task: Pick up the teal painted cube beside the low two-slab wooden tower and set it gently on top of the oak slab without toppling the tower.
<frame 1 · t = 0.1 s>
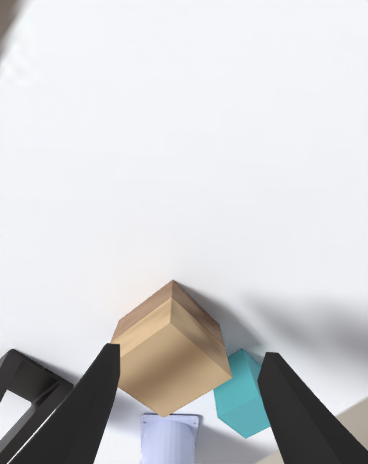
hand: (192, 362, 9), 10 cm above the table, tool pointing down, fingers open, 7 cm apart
tower base: (169, 320, 21), on the table, touching tower top
phone stand: (31, 377, 24), on the table
teal cube: (237, 368, 24), on the table
tower top: (168, 344, 19), point 3 cm above the table, touching tower base
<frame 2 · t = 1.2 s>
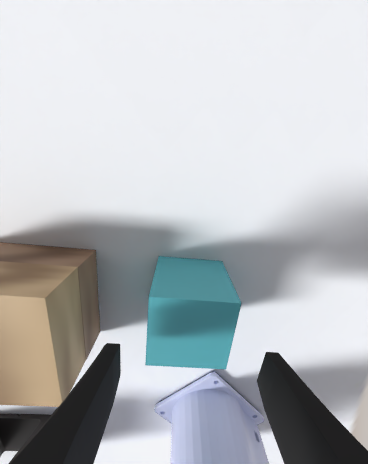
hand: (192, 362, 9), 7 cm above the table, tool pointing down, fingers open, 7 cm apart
tower base: (51, 288, 16), on the table
phone stand: (26, 428, 21), on the table
teal cube: (187, 285, 16), on the table
tower top: (22, 314, 13), point 3 cm above the table
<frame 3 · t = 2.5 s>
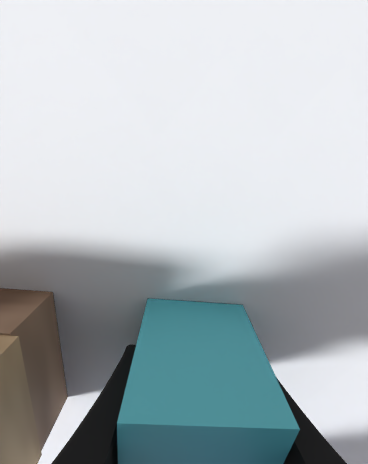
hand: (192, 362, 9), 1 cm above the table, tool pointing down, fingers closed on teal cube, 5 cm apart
teal cube: (190, 338, 11), on the table, touching gripper
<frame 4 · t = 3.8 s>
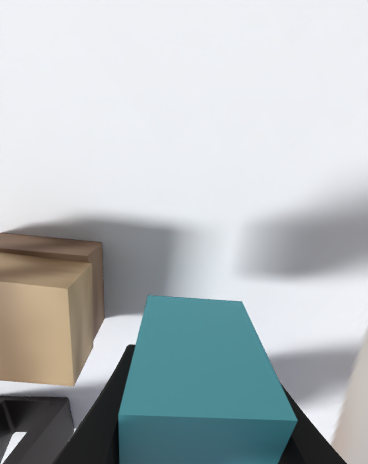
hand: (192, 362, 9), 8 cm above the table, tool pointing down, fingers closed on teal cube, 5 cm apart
tower base: (60, 276, 17), on the table, touching tower top
phone stand: (35, 410, 23), on the table
teal cube: (190, 334, 11), point 6 cm above the table, touching gripper
tower top: (39, 303, 14), point 3 cm above the table, touching tower base
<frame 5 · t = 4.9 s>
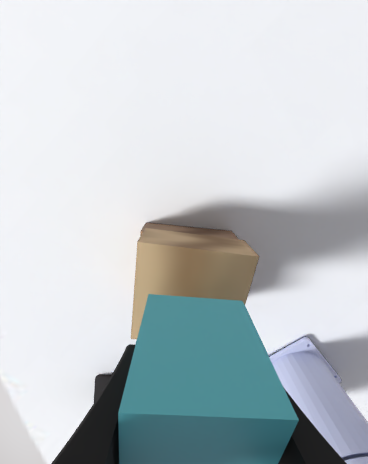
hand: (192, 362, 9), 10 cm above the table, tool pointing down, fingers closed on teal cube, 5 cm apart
tower base: (184, 262, 19), on the table, touching tower top
teal cube: (190, 333, 11), point 8 cm above the table, touching gripper
tower top: (188, 277, 16), point 3 cm above the table, touching tower base
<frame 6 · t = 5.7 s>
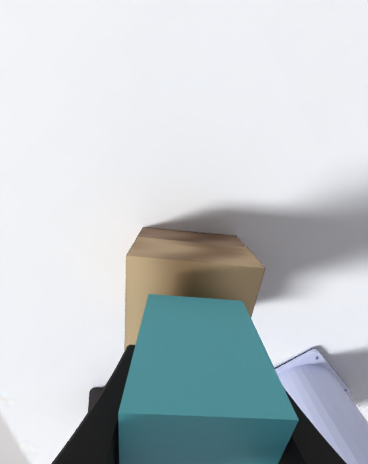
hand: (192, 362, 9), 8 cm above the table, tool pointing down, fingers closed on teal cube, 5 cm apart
tower base: (185, 270, 18), on the table, touching tower top
teal cube: (190, 333, 11), point 7 cm above the table, touching gripper
tower top: (186, 289, 15), point 3 cm above the table, touching tower base
when the fingers open (8 cm above the table, at t = 6.4 s): teal cube drops 1 cm, point 6 cm above the table.
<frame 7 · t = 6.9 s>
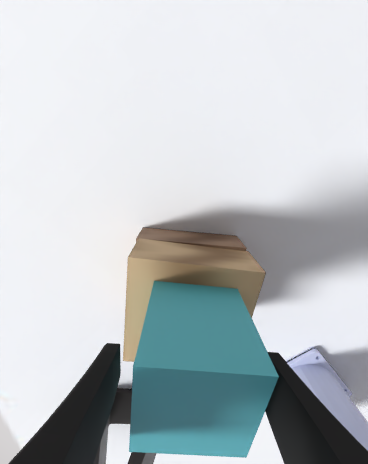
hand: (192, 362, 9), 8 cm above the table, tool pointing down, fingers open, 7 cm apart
tower base: (185, 270, 18), on the table, touching tower top
phone stand: (130, 403, 23), on the table
teal cube: (190, 318, 12), point 6 cm above the table
tower top: (186, 291, 15), point 3 cm above the table, touching tower base
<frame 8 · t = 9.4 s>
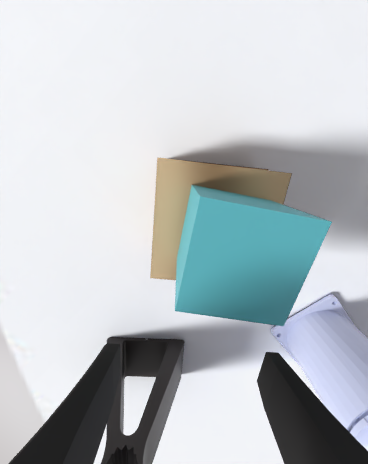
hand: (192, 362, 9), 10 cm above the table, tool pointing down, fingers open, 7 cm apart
phone stand: (146, 355, 23), on the table
teal cube: (221, 230, 12), point 5 cm above the table, touching tower top
tower top: (208, 218, 15), point 2 cm above the table, touching teal cube, tower base
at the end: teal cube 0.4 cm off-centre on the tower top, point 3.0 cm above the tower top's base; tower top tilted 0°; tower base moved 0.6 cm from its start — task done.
